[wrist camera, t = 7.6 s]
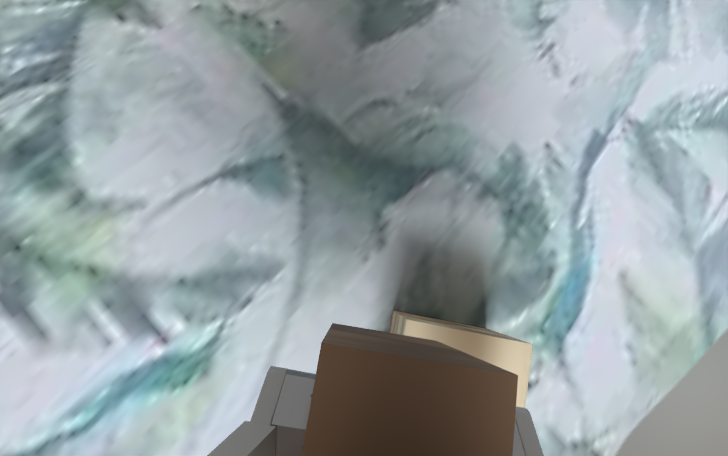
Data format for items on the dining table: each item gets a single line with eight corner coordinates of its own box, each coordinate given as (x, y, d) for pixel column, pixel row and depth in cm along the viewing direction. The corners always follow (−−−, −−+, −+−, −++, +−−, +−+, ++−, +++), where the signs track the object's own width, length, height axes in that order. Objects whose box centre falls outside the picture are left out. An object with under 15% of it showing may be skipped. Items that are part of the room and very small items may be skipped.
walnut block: (312, 437, 15) (279, 575, 7) (332, 323, 15) (321, 342, 8) (422, 455, 15) (501, 610, 7) (436, 340, 16) (518, 375, 8)
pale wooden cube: (375, 409, 29) (383, 456, 21) (392, 310, 31) (406, 319, 23) (472, 428, 29) (516, 482, 21) (486, 328, 31) (532, 344, 23)
